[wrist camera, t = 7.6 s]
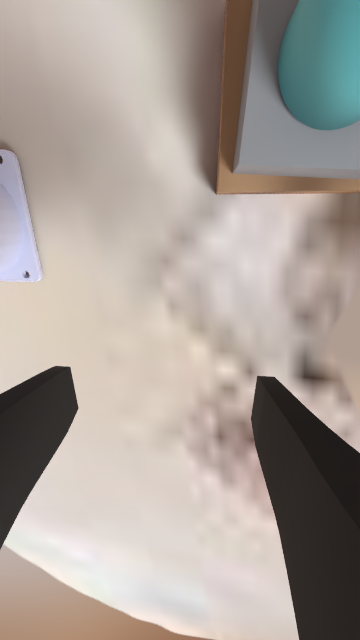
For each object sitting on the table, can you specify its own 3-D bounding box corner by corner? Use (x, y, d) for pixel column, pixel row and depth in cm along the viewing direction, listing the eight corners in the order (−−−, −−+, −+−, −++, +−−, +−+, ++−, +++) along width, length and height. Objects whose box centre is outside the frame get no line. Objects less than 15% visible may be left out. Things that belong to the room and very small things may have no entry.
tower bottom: (215, 194, 16) (218, 191, 13) (223, 19, 13) (229, -25, 10) (347, 193, 15) (373, 189, 13) (390, 9, 12) (435, -41, 10)
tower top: (232, 173, 13) (238, 164, 11) (252, -3, 10) (267, -65, 8) (359, 179, 13) (394, 171, 10) (413, -2, 10) (475, -66, 8)
